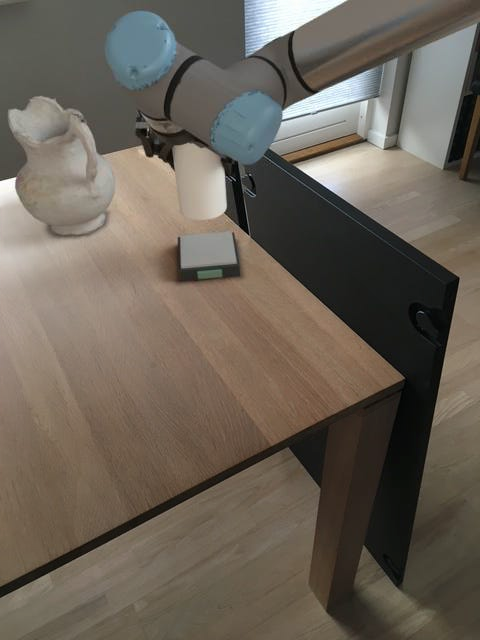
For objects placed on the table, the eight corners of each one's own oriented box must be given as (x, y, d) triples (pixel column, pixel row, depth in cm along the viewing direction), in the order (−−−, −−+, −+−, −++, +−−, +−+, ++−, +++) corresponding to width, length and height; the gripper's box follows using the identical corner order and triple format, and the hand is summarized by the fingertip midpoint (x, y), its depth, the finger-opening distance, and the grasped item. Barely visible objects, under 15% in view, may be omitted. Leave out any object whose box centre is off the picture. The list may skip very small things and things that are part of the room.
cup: (231, 215, 92) (226, 122, 81) (184, 223, 90) (173, 130, 80) (220, 193, 98) (214, 104, 87) (176, 200, 96) (164, 110, 86)
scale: (234, 242, 106) (234, 229, 104) (240, 277, 98) (239, 264, 96) (179, 247, 106) (177, 234, 104) (180, 283, 97) (178, 269, 95)
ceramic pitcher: (148, 216, 117) (133, 97, 102) (92, 259, 103) (64, 128, 88) (70, 198, 125) (45, 84, 109) (8, 235, 111) (-31, 111, 96)
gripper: (91, 134, 71) (142, 186, 93) (250, 137, 68) (263, 189, 91) (96, 78, 71) (145, 143, 94) (253, 79, 69) (266, 145, 91)
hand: (203, 166), depth 92 cm, fingers closed on cup, 8 cm apart
